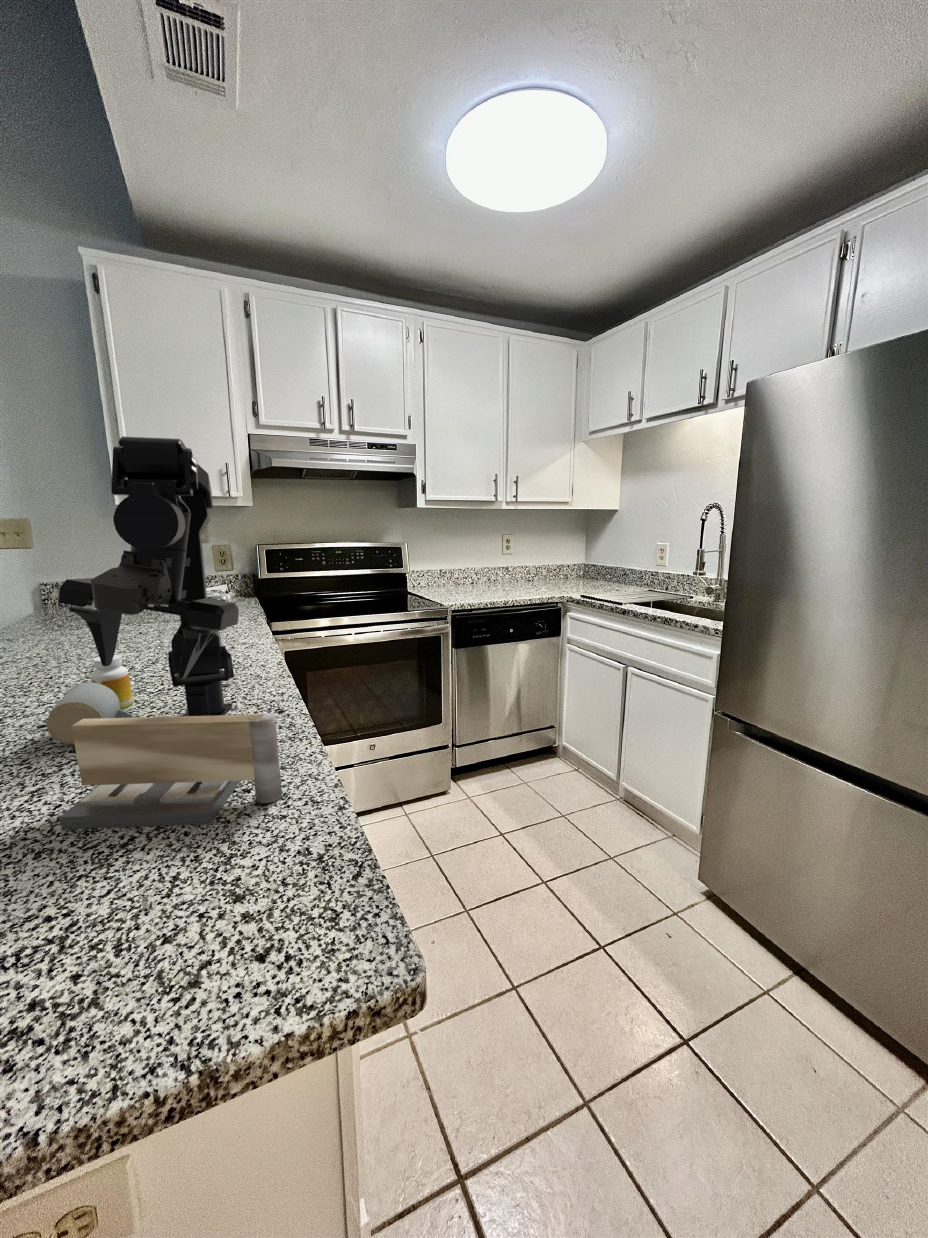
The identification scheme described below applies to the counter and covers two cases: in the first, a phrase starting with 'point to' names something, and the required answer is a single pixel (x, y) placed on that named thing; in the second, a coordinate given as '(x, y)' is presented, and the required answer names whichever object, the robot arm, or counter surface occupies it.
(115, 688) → the supplement bottle
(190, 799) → the panel
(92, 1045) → the counter surface
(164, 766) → the swing bar
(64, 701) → the ceramic mug
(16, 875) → the counter surface
